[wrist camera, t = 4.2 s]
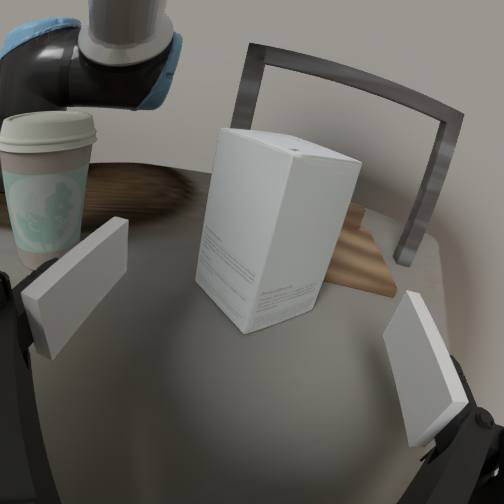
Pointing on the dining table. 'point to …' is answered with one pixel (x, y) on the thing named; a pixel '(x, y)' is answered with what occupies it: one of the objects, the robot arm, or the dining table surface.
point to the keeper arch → (351, 236)
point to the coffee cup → (46, 180)
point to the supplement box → (271, 224)
